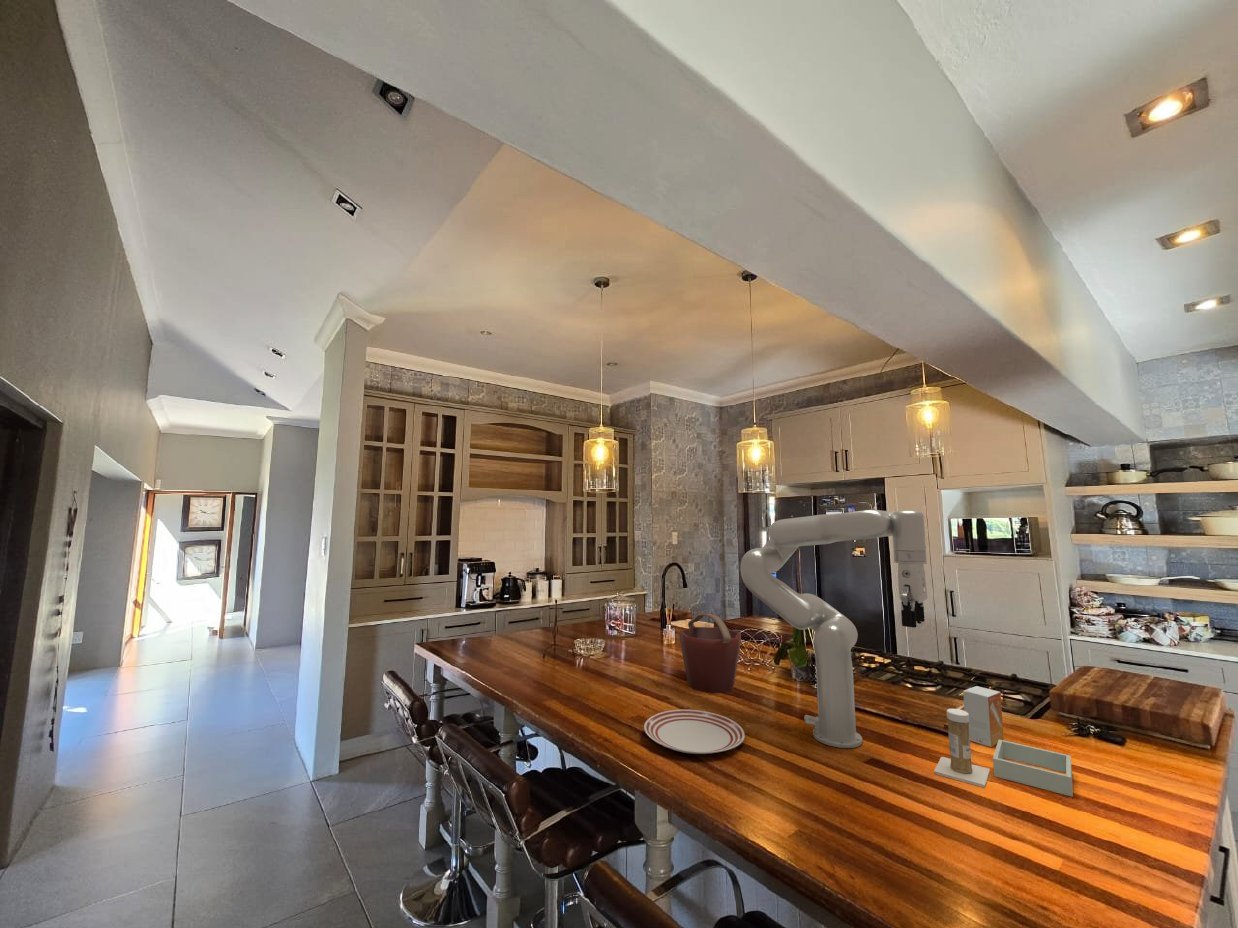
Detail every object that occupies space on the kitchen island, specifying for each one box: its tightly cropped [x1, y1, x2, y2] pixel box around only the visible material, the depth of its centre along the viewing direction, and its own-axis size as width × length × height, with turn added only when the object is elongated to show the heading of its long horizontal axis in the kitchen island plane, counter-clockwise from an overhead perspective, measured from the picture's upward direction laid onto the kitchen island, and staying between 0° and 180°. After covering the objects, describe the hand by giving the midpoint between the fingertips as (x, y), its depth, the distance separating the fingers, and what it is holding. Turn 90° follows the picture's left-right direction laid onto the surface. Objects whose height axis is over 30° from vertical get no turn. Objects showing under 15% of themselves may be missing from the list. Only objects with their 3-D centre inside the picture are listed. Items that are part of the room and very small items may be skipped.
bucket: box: [678, 613, 742, 694], centre depth 190 cm, size 24×22×25 cm
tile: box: [933, 756, 991, 789], centre depth 124 cm, size 10×10×1 cm
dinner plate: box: [643, 709, 746, 755], centre depth 143 cm, size 28×27×3 cm
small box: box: [962, 685, 1005, 748], centre depth 143 cm, size 8×6×13 cm
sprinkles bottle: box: [946, 708, 973, 773], centre depth 125 cm, size 5×5×14 cm
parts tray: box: [992, 740, 1074, 798], centre depth 123 cm, size 14×14×4 cm
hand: (913, 623), depth 135 cm, fingers open, 9 cm apart
